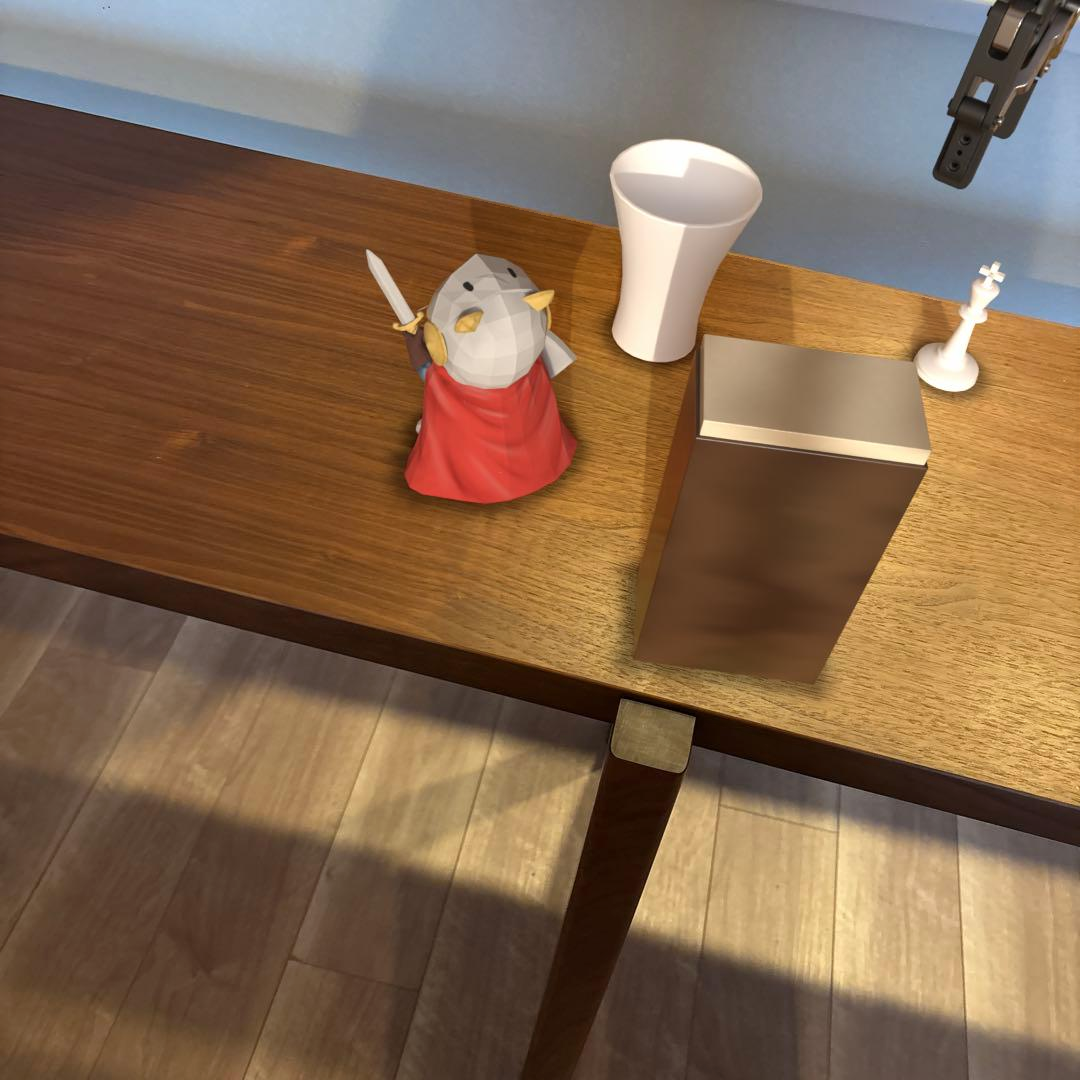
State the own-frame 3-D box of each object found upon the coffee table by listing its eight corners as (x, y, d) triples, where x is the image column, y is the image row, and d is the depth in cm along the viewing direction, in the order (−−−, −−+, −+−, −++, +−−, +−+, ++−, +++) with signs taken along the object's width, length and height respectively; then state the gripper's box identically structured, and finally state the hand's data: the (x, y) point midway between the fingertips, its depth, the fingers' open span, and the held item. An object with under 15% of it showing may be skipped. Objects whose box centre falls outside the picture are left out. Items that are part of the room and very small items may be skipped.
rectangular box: (808, 598, 70) (919, 360, 55) (814, 685, 66) (936, 454, 51) (637, 575, 70) (700, 330, 55) (632, 661, 66) (699, 422, 51)
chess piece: (927, 340, 88) (977, 233, 80) (985, 368, 86) (1042, 262, 78) (902, 371, 85) (951, 265, 77) (962, 401, 83) (1018, 295, 76)
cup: (725, 387, 82) (770, 233, 72) (585, 375, 82) (610, 218, 71) (716, 298, 89) (756, 145, 78) (586, 286, 88) (609, 131, 78)
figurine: (549, 375, 81) (571, 197, 70) (595, 489, 74) (629, 313, 63) (371, 397, 78) (364, 215, 67) (403, 518, 71) (401, 339, 60)
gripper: (1152, -91, 49) (995, 228, 61) (1209, -150, 58) (1062, 139, 70) (992, -142, 51) (871, 176, 63) (1071, -190, 60) (951, 96, 72)
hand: (972, 156), depth 67 cm, fingers open, 8 cm apart
